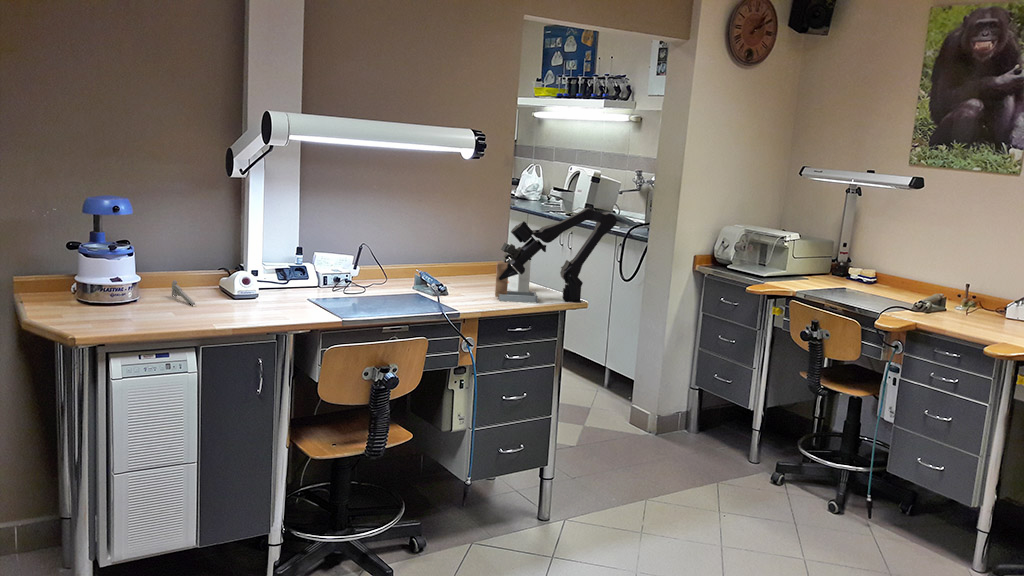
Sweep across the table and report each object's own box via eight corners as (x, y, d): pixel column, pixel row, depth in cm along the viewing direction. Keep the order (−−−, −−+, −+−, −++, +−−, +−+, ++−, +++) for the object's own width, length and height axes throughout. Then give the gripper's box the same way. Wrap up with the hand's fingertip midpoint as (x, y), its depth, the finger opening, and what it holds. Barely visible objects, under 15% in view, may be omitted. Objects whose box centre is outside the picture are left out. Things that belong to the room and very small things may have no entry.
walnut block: (506, 295, 330) (508, 262, 328) (506, 297, 326) (508, 264, 324) (495, 294, 330) (496, 262, 328) (495, 296, 326) (497, 263, 323)
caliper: (171, 296, 299) (171, 279, 297) (174, 296, 299) (174, 279, 298) (193, 307, 284) (193, 289, 283) (196, 307, 284) (196, 289, 283)
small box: (529, 291, 347) (531, 260, 345) (517, 292, 343) (519, 261, 341) (516, 288, 353) (518, 257, 351) (505, 289, 349) (507, 258, 347)
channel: (535, 298, 334) (535, 292, 333) (537, 302, 324) (537, 296, 324) (498, 296, 333) (498, 290, 332) (498, 301, 324) (499, 294, 323)
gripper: (510, 233, 334) (481, 259, 334) (518, 239, 315) (488, 267, 315) (528, 253, 336) (499, 279, 336) (537, 260, 318) (507, 288, 318)
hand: (498, 278), depth 327 cm, fingers closed on walnut block, 5 cm apart
